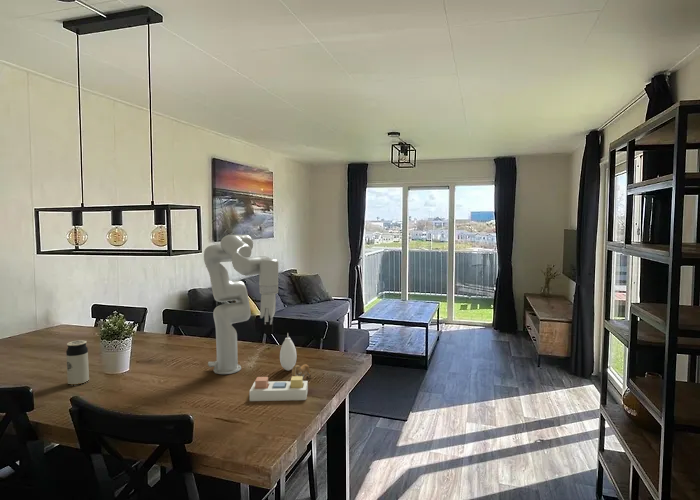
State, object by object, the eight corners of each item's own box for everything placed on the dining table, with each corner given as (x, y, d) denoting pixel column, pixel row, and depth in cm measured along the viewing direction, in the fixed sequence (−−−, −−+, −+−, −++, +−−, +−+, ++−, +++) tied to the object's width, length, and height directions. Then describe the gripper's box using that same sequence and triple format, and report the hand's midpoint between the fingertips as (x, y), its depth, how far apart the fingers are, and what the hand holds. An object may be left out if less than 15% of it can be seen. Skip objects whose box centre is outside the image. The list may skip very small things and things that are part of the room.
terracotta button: (255, 390, 172) (255, 380, 171) (257, 386, 176) (257, 377, 176) (266, 390, 172) (266, 380, 172) (268, 386, 176) (268, 376, 176)
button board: (249, 401, 169) (249, 391, 169) (254, 391, 179) (254, 381, 179) (306, 399, 170) (305, 390, 169) (307, 390, 180) (307, 380, 179)
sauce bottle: (293, 373, 201) (292, 334, 200) (277, 372, 202) (276, 334, 201) (298, 367, 208) (298, 330, 207) (283, 366, 210) (282, 330, 209)
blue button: (273, 396, 172) (273, 386, 172) (274, 391, 176) (274, 382, 176) (284, 395, 172) (284, 386, 172) (285, 391, 176) (285, 382, 176)
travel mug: (86, 378, 196) (84, 339, 195) (91, 382, 191) (89, 342, 190) (65, 382, 191) (64, 342, 190) (70, 387, 185) (68, 346, 184)
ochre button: (290, 390, 172) (290, 380, 172) (291, 385, 176) (291, 376, 176) (301, 389, 172) (301, 380, 172) (302, 385, 177) (302, 376, 176)
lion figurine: (300, 388, 182) (300, 367, 182) (289, 387, 184) (288, 366, 183) (313, 376, 196) (313, 356, 196) (302, 375, 198) (302, 356, 197)
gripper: (262, 285, 183) (262, 328, 184) (256, 292, 168) (255, 338, 169) (280, 286, 183) (280, 328, 184) (275, 292, 168) (275, 339, 170)
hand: (268, 333), depth 177 cm, fingers closed
